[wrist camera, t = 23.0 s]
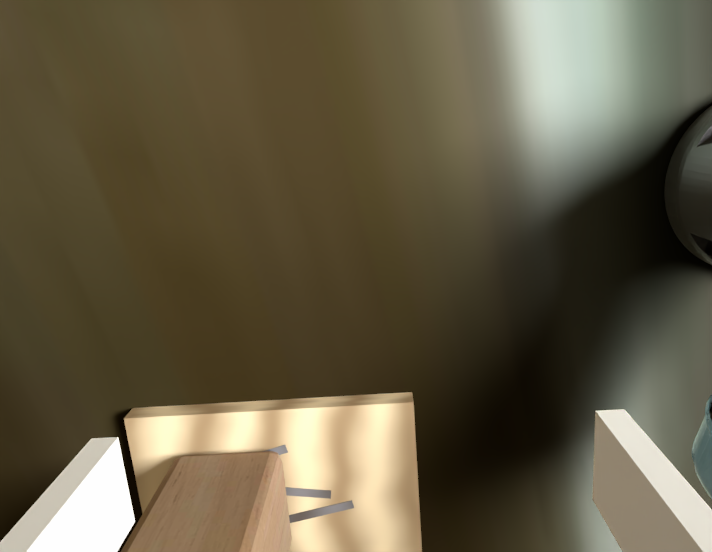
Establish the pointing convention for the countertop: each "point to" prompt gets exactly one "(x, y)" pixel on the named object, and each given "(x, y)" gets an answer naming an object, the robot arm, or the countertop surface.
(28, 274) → the countertop surface
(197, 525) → the block
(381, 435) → the board
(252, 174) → the countertop surface
